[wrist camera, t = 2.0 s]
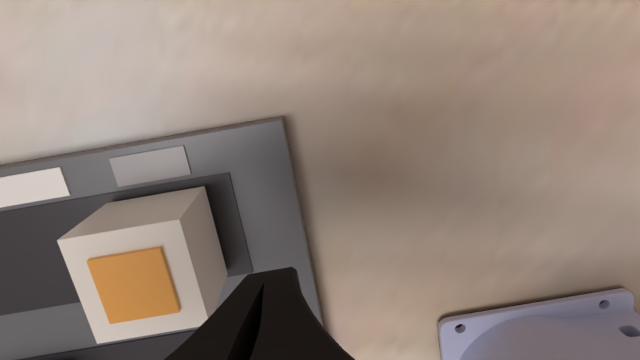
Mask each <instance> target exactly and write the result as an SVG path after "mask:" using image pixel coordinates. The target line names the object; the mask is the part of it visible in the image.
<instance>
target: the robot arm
mask: <svg viewBox="0 0 640 360" xmlns="http://www.w3.org/2000/svg"><path fill="white" fill-rule="evenodd" d="M603 300H604V301H603ZM601 301H603V302H602V303H601V304H599V303H600V302H601ZM459 324H462V326H461V327H460V328H455V327H456V326H457V325H459ZM438 335H439V345H440V355H441V360H640V314H639V313H637V312H636V311H635V310H634V295H633V294H632V293H631V292H630V291H628V290H627V289H624V288H619V289H613V290H607V291H601V292H595V293H589V294H583V295H577V296H571V297H565V298H559V299H553V300H547V301H541V302H535V303H529V304H523V305H517V306H511V307H505V308H500V309H494V310H488V311H482V312H476V313H470V314H464V315H458V316H452V317H446V318H443V319H442V320H441V321H440V322H439V324H438ZM164 360H355V359H354V358H353V357H351V356H350V355H349V354H348V353H347V352H346V351H344V350H343V349H342V348H341V347H340V346H339V344H338V343H337V342H336V341H335V340H334V339H333V338H332V337H331V336H330V335H329V334H328V332H327V331H326V330H325V329H324V328H323V326H322V325H321V324H320V322H319V321H318V319H317V318H316V316H315V315H314V314H313V312H312V310H311V309H310V307H309V306H308V304H307V302H306V300H305V298H304V296H303V294H302V292H301V288H300V283H299V278H298V273H297V270H296V269H295V268H293V267H287V268H282V269H276V270H270V271H264V272H258V273H252V274H248V275H247V276H246V277H245V278H244V279H243V280H242V281H241V282H240V283H239V285H238V286H237V287H236V288H235V289H234V290H233V292H232V293H231V294H230V295H229V296H228V297H227V298H226V299H225V301H224V302H223V303H222V304H221V305H220V306H219V307H218V308H217V310H216V311H215V312H214V313H213V314H212V315H211V316H210V317H209V318H208V319H207V320H206V321H205V322H204V323H203V324H202V325H201V326H200V327H199V328H198V329H197V330H196V331H195V332H194V333H193V334H192V335H191V336H190V337H189V338H188V339H187V340H186V341H185V342H184V343H183V344H181V345H180V346H179V347H178V348H177V349H176V350H175V351H174V352H172V353H171V354H170V355H169V356H167V357H166V358H165V359H164Z"/></svg>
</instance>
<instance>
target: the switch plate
mask: <svg viewBox="0 0 640 360" xmlns="http://www.w3.org/2000/svg"><path fill="white" fill-rule="evenodd" d="M202 186H205V190H206V194H207V197H208V201H209V205H210V209H211V213H212V216H213V220H214V224H215V228H216V231H217V235H218V239H219V243H220V247H221V250H222V254H223V258H224V262H225V265H226V269H227V273H228V275H227V278H226V280H225V283H224V286H223V289H222V292H221V295H220V297H219V300H218V303H217V306H216V309H215V311H216V310H217V308H218V307H219V306H220V305H221V304H222V303H223V302H224V301H225V299H226V298H227V297H228V296H229V295H230V294H231V293H232V292H233V290H234V289H235V288H236V287H237V286H238V285H239V283H240V282H241V281H242V280H243V279H244V278H245V277H246V276H247V275H248V274H252V273H258V272H264V271H270V270H276V269H282V268H287V267H293V268H295V269H296V270H297V273H298V278H299V283H300V288H301V292H302V294H303V296H304V298H305V300H306V302H307V304H308V306H309V307H310V309H311V310H312V312H313V314H314V315H315V316H316V318H317V319H318V321H319V322H320V324H321V325H322V326H323V328H324V329H325V327H324V322H323V317H322V312H321V307H320V302H319V297H318V291H317V286H316V281H315V276H314V271H313V266H312V261H311V256H310V251H309V246H308V240H307V235H306V230H305V225H304V220H303V215H302V210H301V205H300V200H299V195H298V189H297V184H296V179H295V174H294V169H293V164H292V159H291V154H290V149H289V144H288V138H287V133H286V128H285V123H284V118H283V116H280V117H274V118H268V119H263V120H257V121H251V122H246V123H240V124H234V125H229V126H223V127H217V128H211V129H206V130H200V131H194V132H189V133H183V134H177V135H172V136H166V137H160V138H155V139H149V140H143V141H138V142H132V143H126V144H120V145H115V146H109V147H103V148H98V149H92V150H86V151H81V152H75V153H69V154H64V155H58V156H52V157H47V158H41V159H35V160H30V161H24V162H18V163H12V164H7V165H1V166H0V360H164V359H165V358H166V357H167V356H169V355H170V354H171V353H172V352H174V351H175V350H176V349H177V348H178V347H179V346H180V345H181V344H183V343H184V342H185V341H186V340H187V339H188V338H189V337H190V336H191V335H192V334H193V333H194V332H195V331H196V330H197V329H198V328H199V327H194V328H188V329H182V330H176V331H171V332H165V333H159V334H153V335H147V336H141V337H135V338H129V339H123V340H117V341H111V342H105V343H99V344H97V342H96V340H95V337H94V334H93V332H92V329H91V327H90V324H89V322H88V319H87V317H86V314H85V311H84V309H83V306H82V304H81V301H80V299H79V296H78V293H77V291H76V288H75V286H74V283H73V281H72V278H71V275H70V273H69V270H68V268H67V265H66V263H65V260H64V257H63V255H62V252H61V250H60V247H59V245H58V242H57V240H58V239H59V238H61V237H62V236H63V235H65V234H66V233H67V232H69V231H70V230H71V229H73V228H74V227H75V226H77V225H78V224H79V223H81V222H82V221H83V220H85V219H86V218H87V217H89V216H90V215H91V214H93V213H94V212H95V211H97V210H98V209H99V208H101V207H102V206H103V205H105V204H106V203H110V202H116V201H122V200H128V199H133V198H139V197H145V196H151V195H156V194H162V193H168V192H174V191H179V190H185V189H191V188H197V187H202Z"/></svg>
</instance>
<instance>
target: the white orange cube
mask: <svg viewBox="0 0 640 360" xmlns="http://www.w3.org/2000/svg"><path fill="white" fill-rule="evenodd" d="M57 242H58V245H59V247H60V250H61V252H62V255H63V257H64V260H65V263H66V265H67V268H68V270H69V273H70V275H71V278H72V281H73V283H74V286H75V288H76V291H77V293H78V296H79V299H80V301H81V304H82V306H83V309H84V311H85V314H86V317H87V319H88V322H89V324H90V327H91V329H92V332H93V334H94V337H95V340H96V342H97V344H99V343H105V342H111V341H117V340H123V339H129V338H135V337H141V336H147V335H153V334H159V333H165V332H171V331H176V330H182V329H188V328H194V327H200V326H201V325H202V324H203V323H204V322H205V321H206V320H207V319H208V318H209V317H210V316H211V315H212V314H213V313H214V312H215V309H216V306H217V303H218V300H219V297H220V295H221V292H222V289H223V286H224V283H225V280H226V278H227V275H228V273H227V269H226V265H225V262H224V258H223V254H222V250H221V247H220V243H219V239H218V235H217V231H216V228H215V224H214V220H213V216H212V213H211V209H210V205H209V201H208V197H207V194H206V190H205V186H202V187H197V188H191V189H185V190H179V191H174V192H168V193H162V194H156V195H151V196H145V197H139V198H133V199H128V200H122V201H116V202H110V203H106V204H105V205H103V206H102V207H101V208H99V209H98V210H97V211H95V212H94V213H93V214H91V215H90V216H89V217H87V218H86V219H85V220H83V221H82V222H81V223H79V224H78V225H77V226H75V227H74V228H73V229H71V230H70V231H69V232H67V233H66V234H65V235H63V236H62V237H61V238H59V239H58V240H57Z"/></svg>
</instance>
